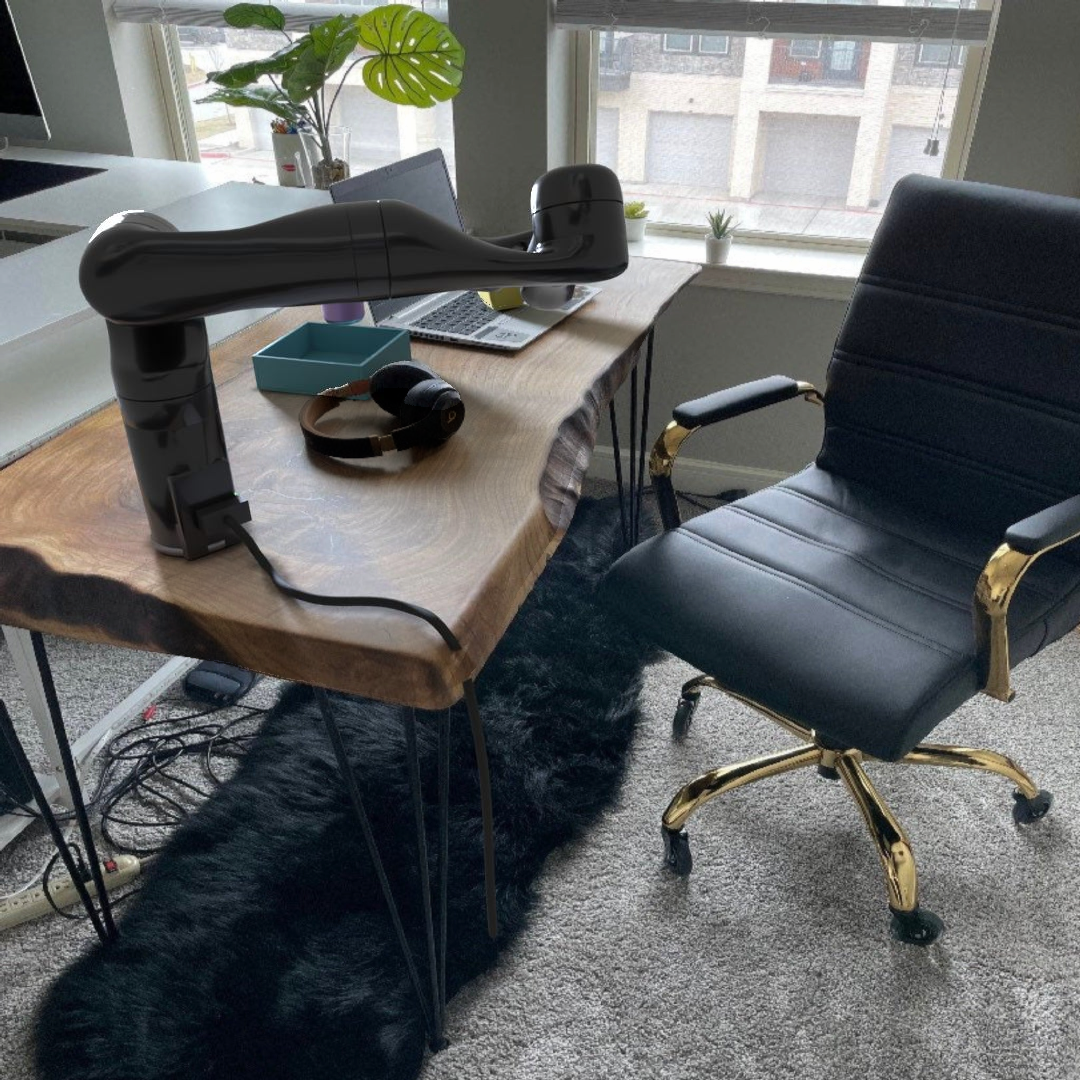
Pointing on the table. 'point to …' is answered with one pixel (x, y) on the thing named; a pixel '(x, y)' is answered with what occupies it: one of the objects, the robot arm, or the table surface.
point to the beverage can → (343, 313)
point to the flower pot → (503, 298)
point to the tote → (328, 357)
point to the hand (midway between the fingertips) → (320, 255)
